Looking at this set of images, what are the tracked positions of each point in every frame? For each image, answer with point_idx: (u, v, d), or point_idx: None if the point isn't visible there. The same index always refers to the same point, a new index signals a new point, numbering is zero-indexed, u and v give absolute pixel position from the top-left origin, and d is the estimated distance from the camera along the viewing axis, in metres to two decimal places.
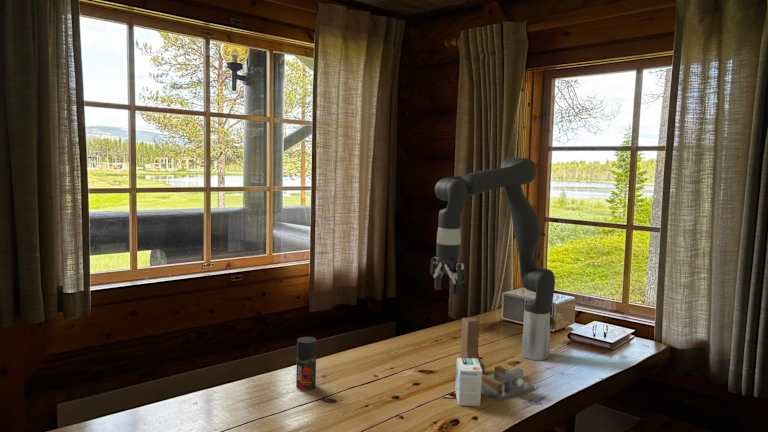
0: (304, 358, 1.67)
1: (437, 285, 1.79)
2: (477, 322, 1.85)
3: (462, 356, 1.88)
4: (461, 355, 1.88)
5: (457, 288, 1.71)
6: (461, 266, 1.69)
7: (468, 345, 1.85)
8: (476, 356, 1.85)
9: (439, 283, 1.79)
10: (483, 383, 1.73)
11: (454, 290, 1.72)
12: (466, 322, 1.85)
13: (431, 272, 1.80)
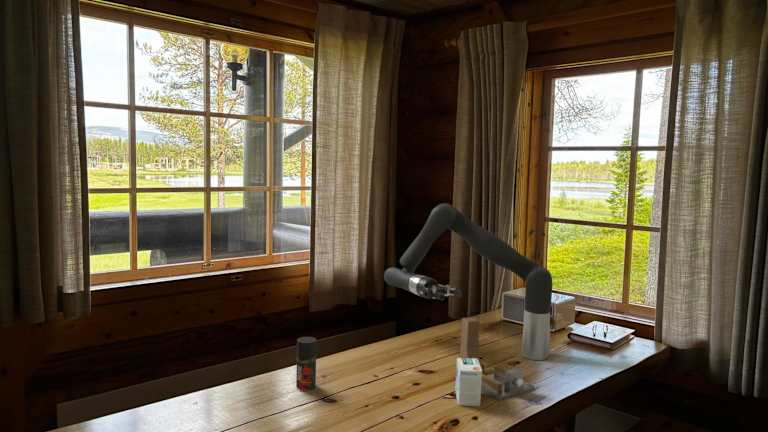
0: (304, 358, 1.67)
1: (458, 295, 1.96)
2: (477, 322, 1.85)
3: (462, 356, 1.88)
4: (461, 355, 1.88)
5: (436, 297, 1.92)
6: (420, 293, 1.97)
7: (468, 345, 1.85)
8: (476, 356, 1.85)
9: (457, 293, 1.97)
10: (483, 383, 1.73)
11: (439, 299, 1.92)
12: (466, 322, 1.85)
13: None
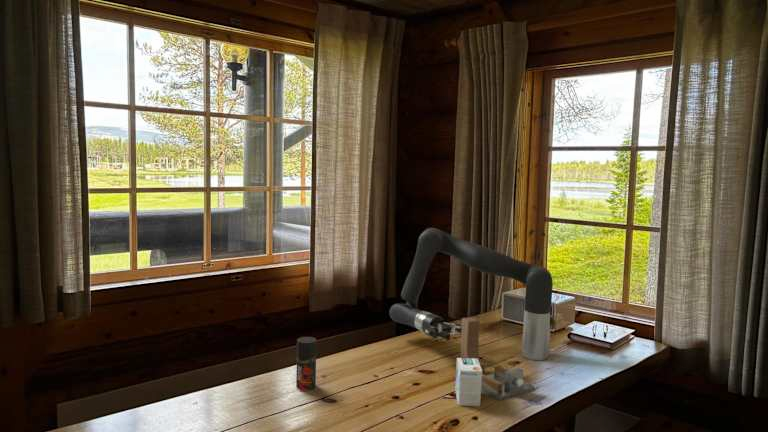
0: (304, 358, 1.67)
1: None
2: (477, 322, 1.85)
3: (462, 356, 1.88)
4: (461, 355, 1.88)
5: (442, 336, 1.90)
6: (425, 332, 1.95)
7: (468, 345, 1.85)
8: (476, 356, 1.85)
9: None
10: (483, 383, 1.73)
11: (445, 338, 1.90)
12: (466, 322, 1.85)
13: None
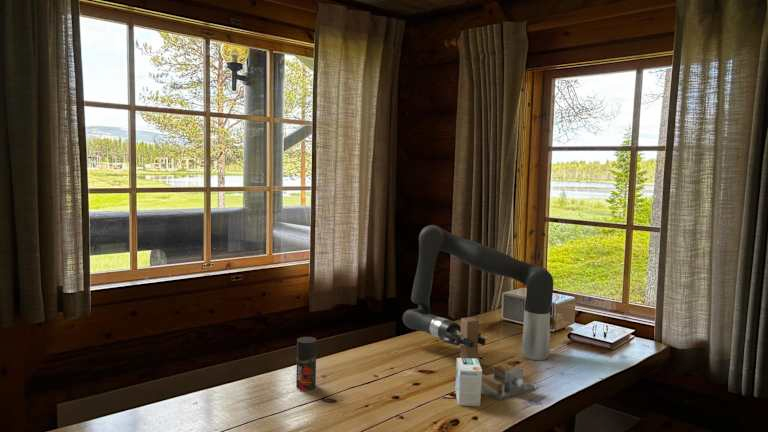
0: (304, 358, 1.67)
1: (480, 342, 1.86)
2: (476, 322, 1.85)
3: (462, 356, 1.88)
4: (461, 355, 1.88)
5: (465, 344, 1.83)
6: (445, 340, 1.87)
7: None
8: (476, 356, 1.85)
9: (479, 340, 1.86)
10: (483, 383, 1.73)
11: (468, 346, 1.83)
12: (465, 322, 1.85)
13: None
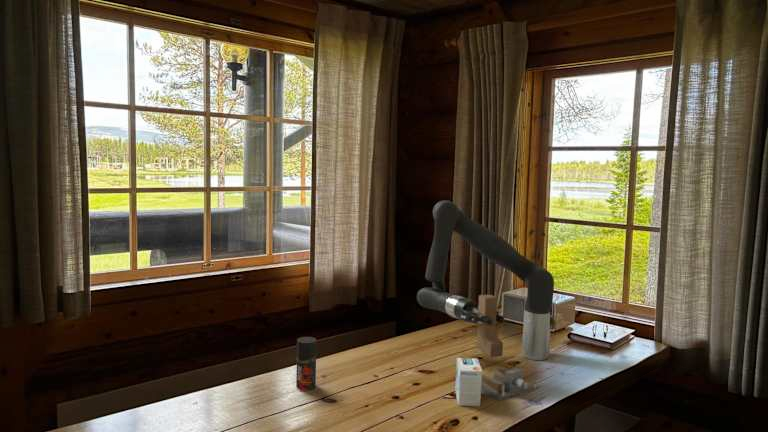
0: (304, 358, 1.67)
1: (499, 320, 1.78)
2: (495, 299, 1.78)
3: (479, 335, 1.80)
4: (478, 334, 1.81)
5: (483, 321, 1.76)
6: (462, 317, 1.80)
7: None
8: (494, 334, 1.78)
9: (498, 318, 1.79)
10: (483, 383, 1.73)
11: (487, 323, 1.76)
12: (483, 299, 1.77)
13: None
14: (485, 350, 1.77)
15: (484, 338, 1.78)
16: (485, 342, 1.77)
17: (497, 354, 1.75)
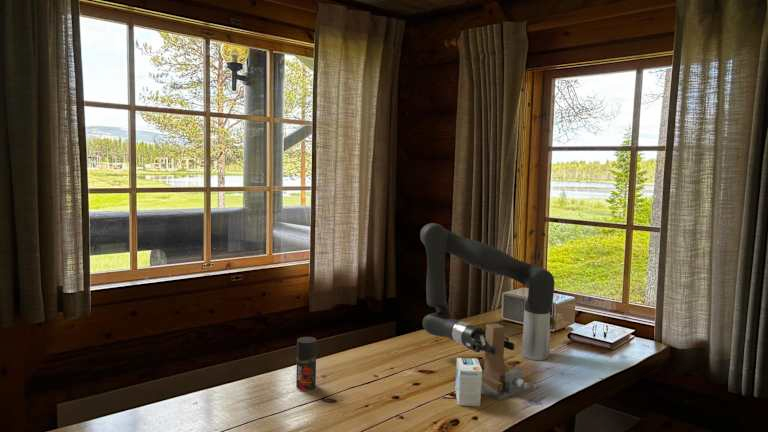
0: (304, 358, 1.67)
1: (509, 347, 1.77)
2: (502, 329, 1.75)
3: (487, 364, 1.78)
4: (485, 363, 1.78)
5: (487, 350, 1.73)
6: (467, 345, 1.78)
7: None
8: (502, 364, 1.76)
9: (508, 345, 1.78)
10: (483, 383, 1.73)
11: (490, 352, 1.73)
12: (491, 329, 1.75)
13: None
14: None
15: (492, 368, 1.75)
16: (493, 373, 1.74)
17: None
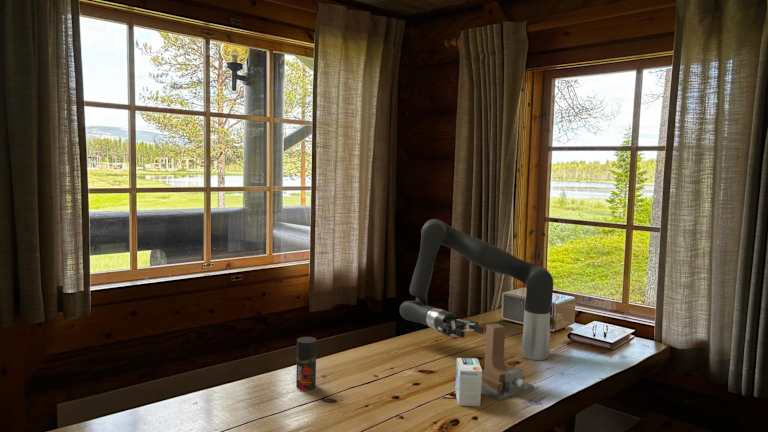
0: (304, 358, 1.67)
1: (478, 331, 1.89)
2: (503, 329, 1.75)
3: (487, 364, 1.78)
4: (485, 363, 1.78)
5: (456, 334, 1.84)
6: (438, 329, 1.89)
7: (493, 353, 1.75)
8: (502, 365, 1.76)
9: (477, 328, 1.89)
10: (483, 383, 1.73)
11: (459, 336, 1.84)
12: (491, 329, 1.75)
13: None
14: None
15: (492, 368, 1.75)
16: (493, 373, 1.74)
17: None
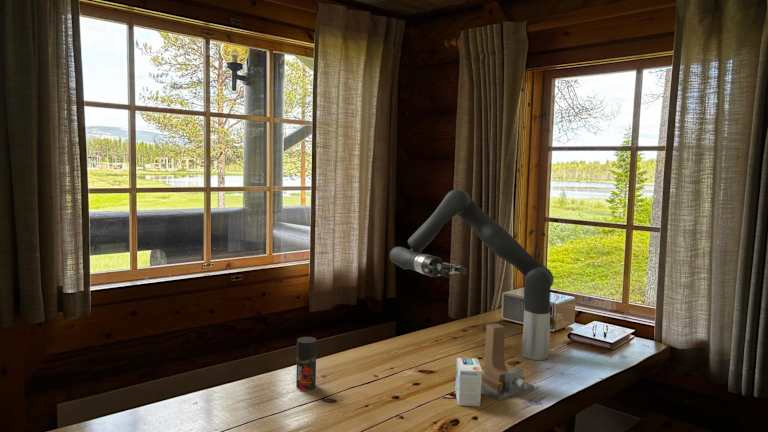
0: (304, 358, 1.67)
1: (463, 272, 1.97)
2: (503, 329, 1.75)
3: (487, 364, 1.78)
4: (485, 363, 1.78)
5: (441, 274, 1.92)
6: (425, 271, 1.97)
7: (493, 353, 1.75)
8: (502, 365, 1.76)
9: (462, 270, 1.97)
10: (483, 383, 1.73)
11: (444, 275, 1.92)
12: (491, 329, 1.75)
13: None
14: None
15: (492, 368, 1.75)
16: (493, 373, 1.74)
17: None
